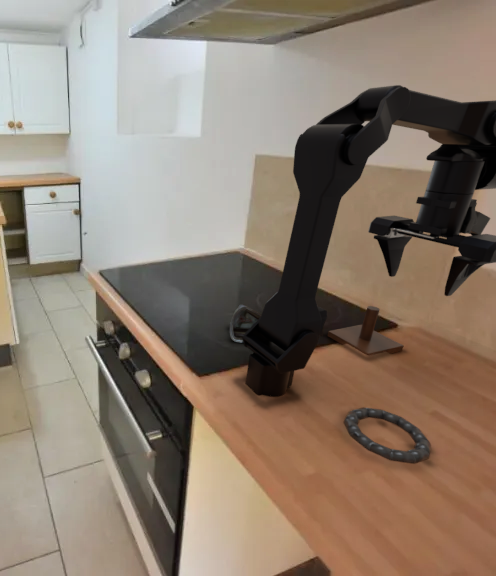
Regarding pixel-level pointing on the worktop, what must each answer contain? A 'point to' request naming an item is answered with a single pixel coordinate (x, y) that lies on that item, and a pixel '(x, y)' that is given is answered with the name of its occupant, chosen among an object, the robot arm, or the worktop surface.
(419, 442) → the ring
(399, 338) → the worktop surface
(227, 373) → the worktop surface
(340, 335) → the post
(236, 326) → the grey curved frame
